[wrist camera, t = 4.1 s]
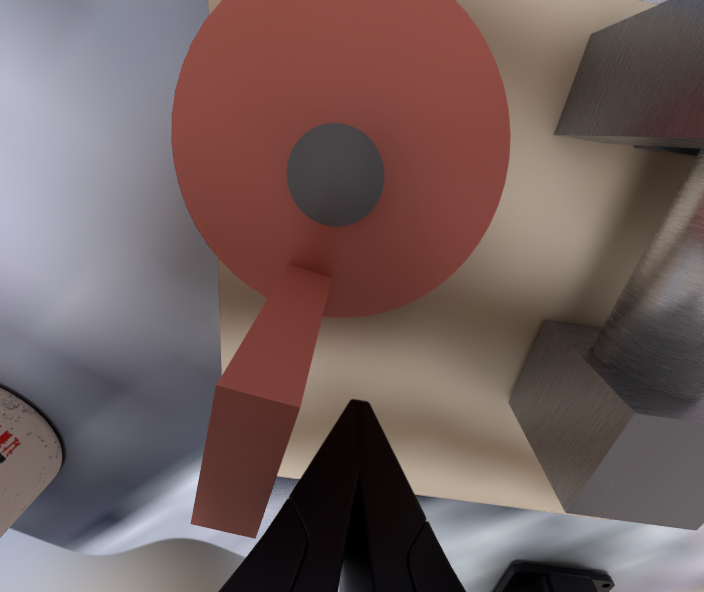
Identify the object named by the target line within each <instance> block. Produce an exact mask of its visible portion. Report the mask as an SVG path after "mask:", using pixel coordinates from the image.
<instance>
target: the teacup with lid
mask: <svg viewBox="0 0 704 592" xmlns="http://www.w3.org/2000/svg"><path fill="white" fill-rule="evenodd" d="M61 463H62V449H61V445H60V443H59V440H58V438H57V436H56V434H55V433H54V431H53V429H52V428H51V427H50V425H49V424H48V423H47V422H46V421H45V419H44V418H43V417H42V416H41V415H40V414H39V413H38V412H36V411H35V410H34V409H33V408H32V407H31V406H29V405H28V404H27V403H25V402H24V401H22V400H21V399H19V398H18V397H16V396H15V395H13V394H11V393H9V392H8V391H6V390H4V389H2V388H0V538H1V536H2V535H3V534H4V533H5V532H6V531H7V530H8V529H9V528H10V527H11V525H12V524H13V523H14V522H15V521H16V520H17V519H18V518H19V517H20V515H21V514H22V513H23V512H24V511H25V510H26V509H27V508H28V507H29V506H30V504H31V503H32V502H33V501H34V500H35V499H36V498H37V497H38V496H39V494H40V493H41V492H42V491H43V490H44V489H45V488H46V487H47V486H48V484H49V483H50V482H51V481H52V480H53V479H54V478H55V476H56V475H57V473H58V472H59V470H60V467H61Z"/></svg>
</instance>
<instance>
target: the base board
mask: <svg viewBox="0 0 704 592" xmlns="http://www.w3.org/2000/svg"><path fill="white" fill-rule="evenodd" d="M221 1H222V0H208V3H209V15H210V14H211V13H212V11H213V10H214V9H215V8H216V7H217V5H218V4H219V3H220V2H221ZM455 1H456V2H457V3H458V4H459V5H460V6H461V7H462V8H463V9H464V10H465V11H466V12H467V13H468V15H469V16H470V18H471V19H472V21H473V22H474V23H475V25H476V26H477V28H478V29H479V30H480V32H481V33H482V35H483V37H484V39H485V41H486V43H487V44H488V46H489V48H490V50H491V52H492V54H493V56H494V58H495V61H496V64H497V67H498V69H499V72H500V75H501V78H502V81H503V84H504V88H505V93H506V98H507V103H508V108H509V119H510V133H511V139H510V157H509V165H508V170H507V176H506V182H505V186H504V189H503V192H502V195H501V199H500V202H499V205H498V208H497V210H496V212H495V214H494V217H493V219H492V221H491V223H490V226H489V227H488V229H487V231H486V232H485V234H484V236H483V237H482V239H481V241H480V243H479V244H478V246H477V247H476V248H475V249H474V251H473V252H472V253H471V255H470V256H469V257H468V259H467V260H466V261H465V262H464V263H463V264H462V265H461V266H460V267H459V268H458V269H457V270H456V271H455V273H454V274H453V275H452V276H450V277H449V278H448V279H447V280H445V281H444V282H443V283H442V284H441V285H439V286H438V287H437V288H435V289H434V290H432V291H431V292H429V293H427V294H426V295H424V296H423V297H421V298H419V299H417V300H415V301H413V302H411V303H409V304H407V305H405V306H402V307H399V308H396V309H394V310H391V311H388V312H384V313H379V314H375V315H371V316H362V317H353V318H336V317H326V316H323V317H322V321H321V325H320V329H319V333H318V337H317V341H316V345H315V350H314V354H313V358H312V362H311V366H310V370H309V374H308V378H307V383H306V387H305V391H304V395H303V399H302V403H301V407H300V410H299V413H298V416H297V419H296V422H295V425H294V428H293V431H292V434H291V437H290V439H289V442H288V445H287V448H286V451H285V454H284V457H283V460H282V463H281V466H280V469H279V471H278V474H277V476H281V477H288V478H296V479H300V478H301V477H302V475H303V474H304V472H305V470H306V469H307V467H308V466H309V464H310V463H311V461H312V459H313V458H314V456H315V455H316V453H317V451H318V450H319V448H320V447H321V445H322V444H323V442H324V440H325V439H326V437H327V436H328V434H329V432H330V431H331V429H332V428H333V426H334V425H335V423H336V421H337V420H338V418H339V417H340V415H341V413H342V412H343V410H344V409H345V407H346V406H347V404H348V402H349V401H350V400H351V399H358V400H364V401H368V402H369V403H370V404H371V406H372V408H373V410H374V412H375V415H376V417H377V419H378V421H379V423H380V425H381V427H382V429H383V431H384V433H385V435H386V437H387V439H388V441H389V443H390V445H391V447H392V449H393V451H394V453H395V455H396V457H397V459H398V461H399V463H400V465H401V467H402V469H403V471H404V473H405V476H406V478H407V480H408V482H409V484H410V486H411V488H412V490H413V492H414V494H417V495H424V496H432V497H439V498H447V499H454V500H462V501H470V502H477V503H485V504H492V505H500V506H507V507H515V508H522V509H530V510H538V511H545V512H553V513H560V514H568V515H575V516H583V517H590V518H598V519H606V518H599V517H591V516H584V515H576V514H569V513H565V511H564V509H563V507H562V505H561V504H560V502H559V500H558V498H557V496H556V494H555V492H554V490H553V488H552V486H551V484H550V482H549V480H548V478H547V477H546V475H545V473H544V471H543V469H542V467H541V465H540V463H539V461H538V459H537V457H536V455H535V453H534V451H533V450H532V448H531V446H530V444H529V442H528V440H527V438H526V436H525V434H524V432H523V430H522V428H521V426H520V424H519V423H518V421H517V419H516V417H515V415H514V413H513V411H512V409H511V407H510V405H509V403H508V401H509V399H510V397H511V395H512V393H513V391H514V389H515V386H516V384H517V382H518V380H519V378H520V376H521V373H522V371H523V369H524V367H525V365H526V363H527V360H528V358H529V356H530V354H531V352H532V350H533V348H534V345H535V343H536V341H537V339H538V337H539V335H540V332H541V330H542V328H543V326H544V324H545V322H546V320H551V321H558V322H565V323H572V324H578V325H585V326H592V327H599V328H602V327H603V325H604V323H605V321H606V319H607V318H608V316H609V314H610V312H611V310H612V309H613V307H614V305H615V303H616V301H617V300H618V298H619V296H620V294H621V292H622V290H623V289H624V287H625V285H626V283H627V281H628V280H629V278H630V276H631V274H632V272H633V271H634V269H635V267H636V265H637V263H638V262H639V260H640V258H641V256H642V254H643V253H644V251H645V249H646V247H647V245H648V244H649V242H650V240H651V238H652V236H653V235H654V233H655V231H656V229H657V227H658V226H659V224H660V222H661V220H662V218H663V217H664V215H665V213H666V211H667V209H668V208H669V206H670V204H671V202H672V200H673V199H674V197H675V195H676V193H677V191H678V190H679V188H680V186H681V184H682V182H683V181H684V179H685V177H686V175H687V173H688V172H689V170H690V168H691V166H692V164H693V163H694V161H695V159H696V158H692V157H686V156H680V155H674V154H667V153H661V152H655V151H649V150H643V149H637V148H633V147H634V145H623V144H606V143H600V142H593V141H587V140H581V139H575V138H569V137H563V136H556V135H554V132H555V129H556V127H557V124H558V121H559V119H560V116H561V113H562V110H563V108H564V105H565V102H566V100H567V97H568V94H569V91H570V89H571V86H572V83H573V81H574V78H575V75H576V73H577V70H578V67H579V64H580V62H581V59H582V56H583V54H584V51H585V48H586V45H587V43H588V40H589V37H590V35H591V34H592V33H594V32H597V31H599V30H601V29H604V28H606V27H608V26H610V25H613V24H615V23H617V22H620V21H622V20H624V19H627V18H629V17H631V16H633V15H636V14H638V13H640V12H643V11H645V10H647V9H650V8H652V7H654V6H656V5H659V4H655V3H649V2H644V1H638V0H455ZM218 280H219V308H220V336H221V364H222V375H223V373H224V371H225V370H226V368H227V366H228V365H229V363H230V361H231V360H232V358H233V356H234V355H235V353H236V351H237V349H238V348H239V346H240V344H241V343H242V341H243V339H244V338H245V336H246V334H247V333H248V331H249V329H250V328H251V326H252V324H253V323H254V321H255V319H256V318H257V316H258V314H259V312H260V311H261V309H262V307H263V306H264V304H265V302H266V301H267V299H268V298H267V297H265V296H263V295H261V294H260V293H258V292H257V291H255V290H254V289H252V288H251V287H249V286H248V285H247V284H245V283H244V282H243V281H242V280H240V279H239V278H238V277H237V276H235V275H234V274H233V273H232V272H231V271H230V270H229V269H228V268H227V267H226V266H225V265H224V264H223V263H222V262H221V261H220V260H219V258H218ZM606 520H610V519H606Z"/></svg>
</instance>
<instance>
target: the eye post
mask: <svg viewBox="0 0 704 592" xmlns="http://www.w3.org/2000/svg"><path fill="white" fill-rule="evenodd" d="M554 135H556V136H563V137H569V138H575V139H581V140H587V141H593V142H600V143H606V144H623V145H634V147H633V148H637V149H643V150H649V151H655V152H661V153H667V154H674V155H680V156H686V157H692V158H696V157H697V155H698V153H699V152H700V150H701V149H704V0H668V1H666V2H663V3H661V4H659V5H656V6H654V7H652V8H650V9H647V10H645V11H643V12H640V13H638V14H636V15H633V16H631V17H629V18H627V19H624V20H622V21H620V22H617V23H615V24H613V25H610V26H608V27H606V28H604V29H601V30H599V31H597V32H594V33H592V34H591V35H590V37H589V40H588V43H587V45H586V48H585V51H584V54H583V56H582V59H581V62H580V64H579V67H578V70H577V73H576V75H575V78H574V81H573V83H572V86H571V89H570V91H569V94H568V97H567V100H566V102H565V105H564V108H563V110H562V113H561V116H560V119H559V121H558V124H557V127H556V129H555V132H554Z"/></svg>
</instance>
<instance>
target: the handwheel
mask: <svg viewBox="0 0 704 592" xmlns="http://www.w3.org/2000/svg"><path fill="white" fill-rule="evenodd" d="M510 139H511V133H510V119H509V108H508V103H507V98H506V93H505V88H504V84H503V81H502V78H501V75H500V72H499V69H498V67H497V64H496V61H495V58H494V56H493V54H492V52H491V50H490V48H489V46H488V44H487V43H486V41H485V39H484V37H483V35H482V33H481V32H480V30H479V29H478V28H477V26H476V25H475V23H474V22H473V21H472V19H471V18H470V16H469V15H468V13H467V12H466V11H465V10H464V9H463V8H462V7H461V6H460V5H459V4H458V3H457V2H456V1H455V0H222V1H221V2H220V3H219V4H218V5H217V7H216V8H215V9H214V10H213V11H212V13H211V14H210V15H209V16H208V18H207V19H206V20H205V22H204V23H203V25H202V27H201V28H200V30H199V32H198V33H197V35H196V37H195V38H194V40H193V42H192V44H191V46H190V48H189V51H188V53H187V56H186V58H185V60H184V63H183V65H182V68H181V72H180V75H179V79H178V83H177V86H176V90H175V97H174V104H173V111H172V148H173V157H174V165H175V169H176V174H177V178H178V183H179V187H180V189H181V192H182V195H183V198H184V201H185V204H186V206H187V209H188V211H189V213H190V215H191V217H192V219H193V221H194V223H195V225H196V227H197V229H198V230H199V232H200V233H201V235H202V237H203V238H204V240H205V241H206V243H207V245H208V246H209V247H210V248H211V250H212V251H213V252H214V253H215V255H216V256H217V257H218V258H219V260H220V261H221V262H222V263H223V264H224V265H225V266H226V267H227V268H228V269H229V270H230V271H231V272H232V273H233V274H234V275H235V276H237V277H238V278H239V279H240V280H242V281H243V282H244V283H245V284H247V285H248V286H249V287H251V288H252V289H254V290H255V291H257V292H258V293H260V294H261V295H263V296H265V297H267V298H268V299H267V301H266V302H265V304H264V306H263V307H262V309H261V311H260V312H259V314H258V316H257V318H256V319H255V321H254V323H253V324H252V326H251V328H250V329H249V331H248V333H247V334H246V336H245V338H244V339H243V341H242V343H241V344H240V346H239V348H238V349H237V351H236V353H235V355H234V356H233V358H232V360H231V361H230V363H229V365H228V366H227V368H226V370H225V371H224V373H223V375H222V376H221V378H220V380H219V381H218V383H217V385H216V389H215V395H214V400H213V406H212V411H211V416H210V422H209V427H208V433H207V438H206V444H205V449H204V454H203V460H202V465H201V471H200V476H199V482H198V487H197V492H196V498H195V503H194V509H193V514H192V520H191V524H193V525H198V526H202V527H206V528H211V529H215V530H220V531H224V532H228V533H233V534H237V535H242V536H246V537H251V538H256V535H257V533H258V530H259V527H260V524H261V521H262V518H263V515H264V512H265V509H266V506H267V503H268V501H269V498H270V495H271V492H272V489H273V486H274V483H275V480H276V477H277V474H278V471H279V469H280V466H281V463H282V460H283V457H284V454H285V451H286V448H287V445H288V442H289V439H290V437H291V434H292V431H293V428H294V425H295V422H296V419H297V416H298V413H299V410H300V407H301V403H302V399H303V395H304V391H305V387H306V383H307V378H308V374H309V370H310V366H311V362H312V358H313V354H314V350H315V345H316V341H317V337H318V333H319V329H320V325H321V321H322V317H323V316H326V317H336V318H353V317H362V316H371V315H375V314H379V313H384V312H388V311H391V310H394V309H396V308H399V307H402V306H405V305H407V304H409V303H411V302H413V301H415V300H417V299H419V298H421V297H423V296H424V295H426V294H427V293H429V292H431V291H432V290H434V289H435V288H437V287H438V286H439V285H441V284H442V283H443V282H444V281H445V280H447V279H448V278H449V277H450V276H452V275H453V274H454V273H455V271H456V270H457V269H458V268H459V267H460V266H461V265H462V264H463V263H464V262H465V261H466V260H467V259H468V257H469V256H470V255H471V253H472V252H473V251H474V249H475V248H476V247H477V246H478V244H479V243H480V241H481V239H482V237H483V236H484V234H485V232H486V231H487V229H488V227H489V226H490V223H491V221H492V219H493V217H494V214H495V212H496V210H497V208H498V205H499V202H500V199H501V195H502V192H503V189H504V186H505V182H506V176H507V170H508V165H509V157H510Z"/></svg>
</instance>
